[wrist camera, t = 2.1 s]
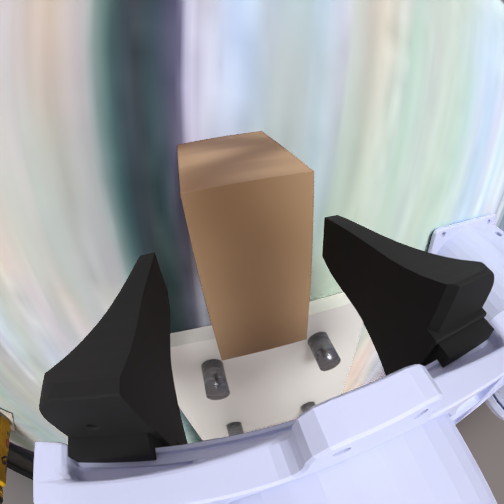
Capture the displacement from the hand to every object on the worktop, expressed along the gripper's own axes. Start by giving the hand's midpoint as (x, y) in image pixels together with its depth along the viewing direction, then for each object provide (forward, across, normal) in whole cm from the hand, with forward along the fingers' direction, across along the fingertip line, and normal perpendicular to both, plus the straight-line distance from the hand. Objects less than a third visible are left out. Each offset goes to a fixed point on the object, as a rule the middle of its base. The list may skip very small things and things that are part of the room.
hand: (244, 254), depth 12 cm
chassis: (+4, -1, +17) cm, 17 cm away
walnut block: (+4, 0, 0) cm, 4 cm away
